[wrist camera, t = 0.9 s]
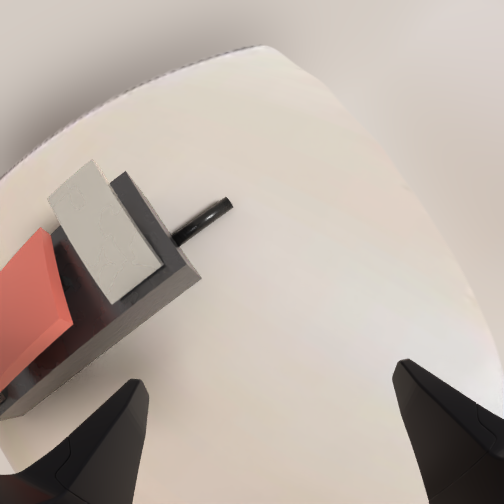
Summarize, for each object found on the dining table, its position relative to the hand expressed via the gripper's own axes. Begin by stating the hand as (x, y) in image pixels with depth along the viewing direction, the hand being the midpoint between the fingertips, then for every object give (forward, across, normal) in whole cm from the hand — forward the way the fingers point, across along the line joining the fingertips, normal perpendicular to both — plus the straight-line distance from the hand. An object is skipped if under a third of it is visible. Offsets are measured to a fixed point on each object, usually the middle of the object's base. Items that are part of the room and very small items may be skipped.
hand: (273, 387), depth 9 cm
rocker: (+7, +20, +2) cm, 21 cm away
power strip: (+14, +17, +6) cm, 23 cm away
